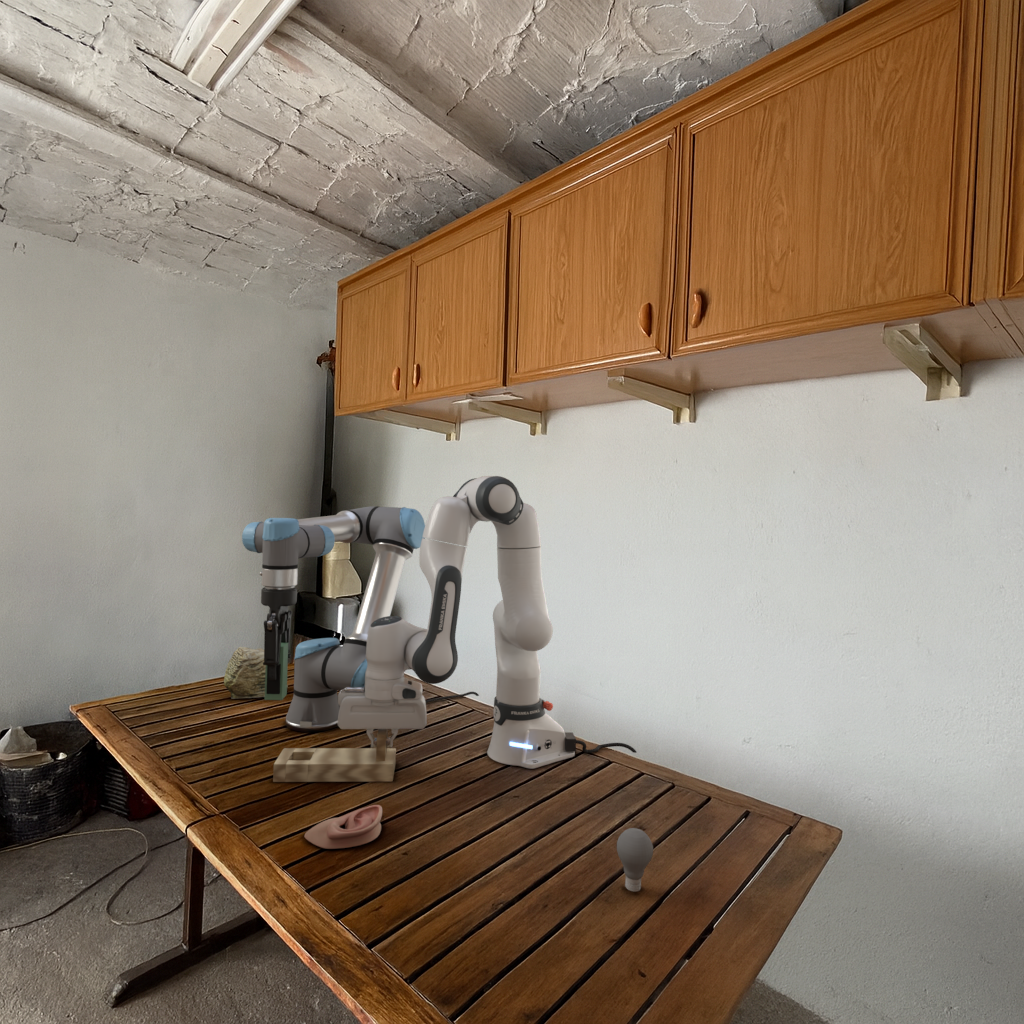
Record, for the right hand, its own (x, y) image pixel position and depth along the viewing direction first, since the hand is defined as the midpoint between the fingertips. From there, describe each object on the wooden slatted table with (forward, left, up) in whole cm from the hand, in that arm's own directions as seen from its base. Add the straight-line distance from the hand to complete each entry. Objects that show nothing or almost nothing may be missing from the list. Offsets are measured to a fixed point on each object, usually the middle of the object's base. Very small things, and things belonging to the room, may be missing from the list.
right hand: (382, 746), depth 146 cm
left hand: (+23, -8, +13) cm, 27 cm away
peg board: (+9, -4, -6) cm, 12 cm away
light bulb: (-26, +59, -6) cm, 65 cm away
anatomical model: (+14, +24, -6) cm, 28 cm away
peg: (+23, -8, +12) cm, 27 cm away
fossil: (+21, -69, -6) cm, 72 cm away
